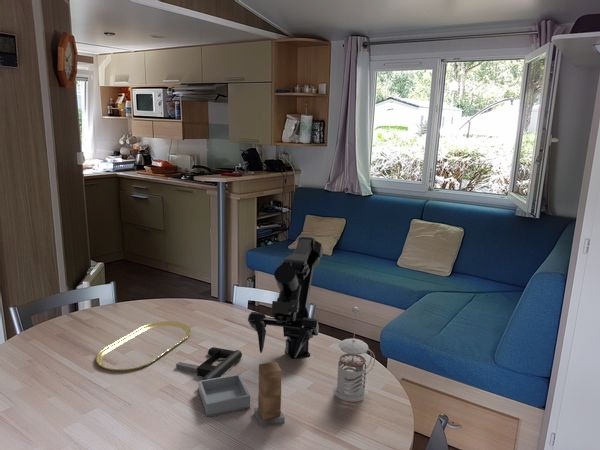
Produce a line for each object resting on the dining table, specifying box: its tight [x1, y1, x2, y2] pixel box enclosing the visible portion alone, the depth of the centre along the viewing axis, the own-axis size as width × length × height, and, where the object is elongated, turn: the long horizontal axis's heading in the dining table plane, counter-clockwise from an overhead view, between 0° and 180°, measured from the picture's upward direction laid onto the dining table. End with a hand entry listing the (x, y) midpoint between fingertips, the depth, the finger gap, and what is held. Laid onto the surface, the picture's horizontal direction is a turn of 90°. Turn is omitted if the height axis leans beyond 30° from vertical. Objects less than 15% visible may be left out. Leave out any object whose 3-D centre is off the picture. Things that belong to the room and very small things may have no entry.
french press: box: [332, 306, 376, 403], centre depth 126 cm, size 10×12×25 cm
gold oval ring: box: [95, 320, 192, 372], centre depth 150 cm, size 19×35×2 cm, turn 159°
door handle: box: [175, 346, 243, 381], centre depth 137 cm, size 3×20×16 cm
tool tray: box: [198, 373, 251, 418], centre depth 121 cm, size 11×11×4 cm
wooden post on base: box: [253, 361, 286, 429], centre depth 114 cm, size 6×6×14 cm
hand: (277, 354), depth 120 cm, fingers open, 9 cm apart
